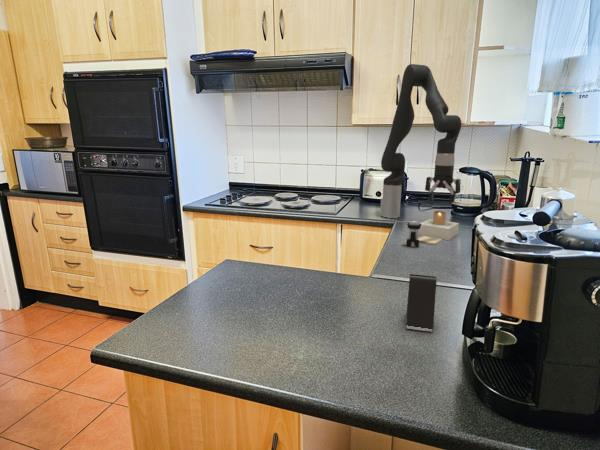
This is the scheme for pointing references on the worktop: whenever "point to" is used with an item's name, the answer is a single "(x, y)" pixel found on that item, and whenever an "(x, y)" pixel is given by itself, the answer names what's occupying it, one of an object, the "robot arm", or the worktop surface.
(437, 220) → the amber cylinder
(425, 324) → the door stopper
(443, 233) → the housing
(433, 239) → the pad
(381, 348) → the worktop surface
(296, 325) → the worktop surface
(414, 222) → the black stand
